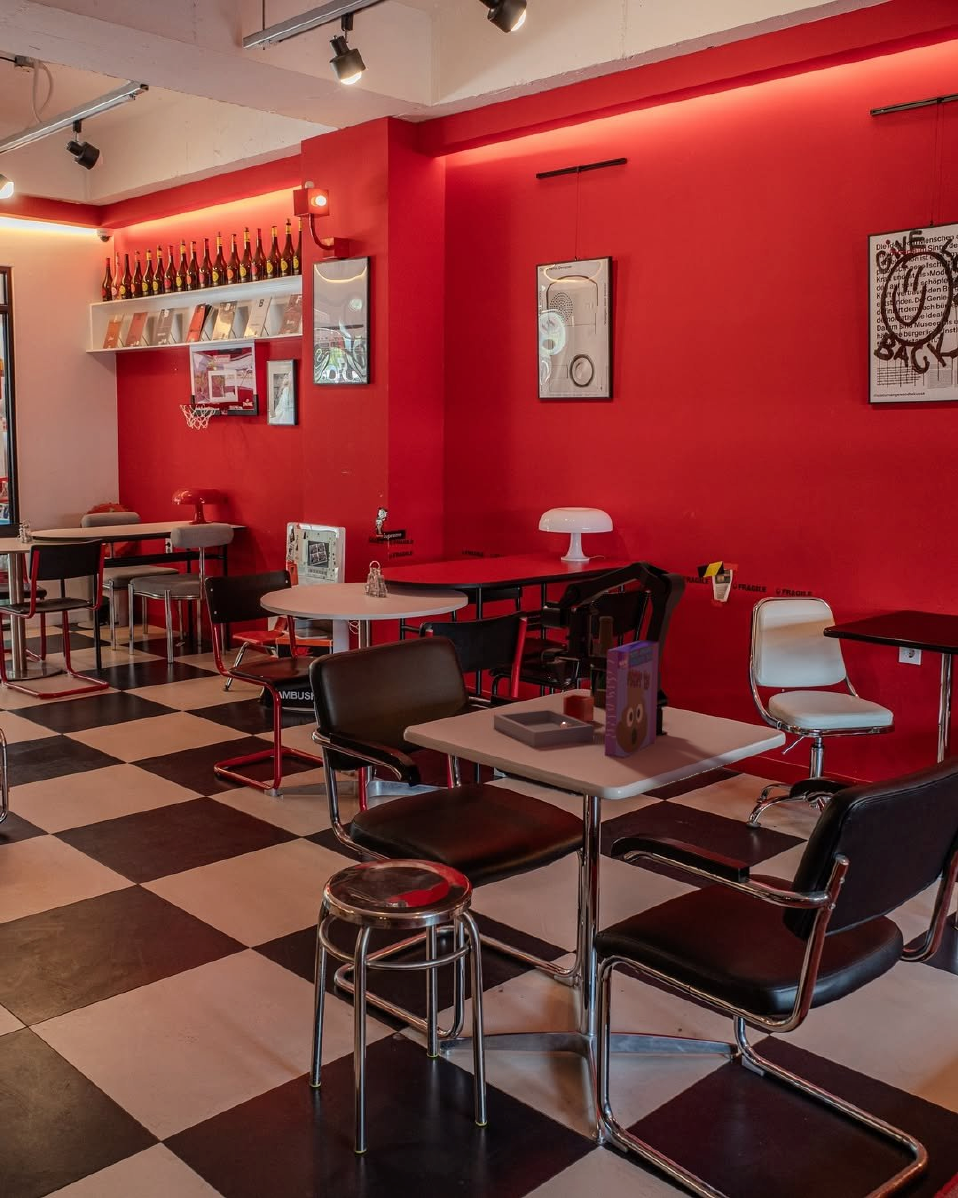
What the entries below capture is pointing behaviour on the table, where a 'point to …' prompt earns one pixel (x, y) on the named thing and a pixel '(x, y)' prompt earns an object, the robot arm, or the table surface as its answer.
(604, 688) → the beer bottle
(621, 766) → the table surface
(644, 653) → the cereal box
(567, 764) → the table surface
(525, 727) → the slate tray
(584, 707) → the red arch stool
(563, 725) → the steel ball
